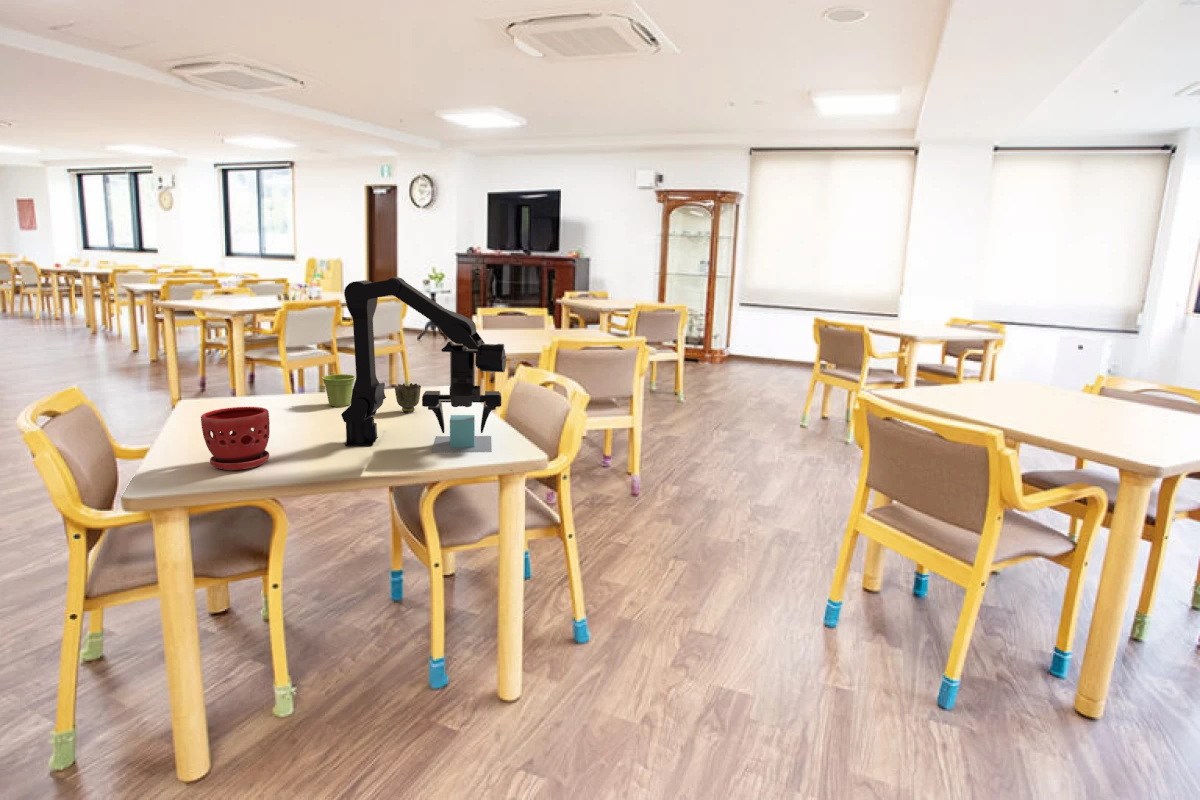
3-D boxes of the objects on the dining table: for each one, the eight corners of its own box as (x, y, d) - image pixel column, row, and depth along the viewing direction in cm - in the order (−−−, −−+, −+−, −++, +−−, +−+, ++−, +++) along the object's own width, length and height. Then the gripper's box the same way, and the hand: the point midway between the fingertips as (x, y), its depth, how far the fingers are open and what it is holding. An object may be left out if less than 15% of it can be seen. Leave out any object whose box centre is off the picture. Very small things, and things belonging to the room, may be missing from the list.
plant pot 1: (282, 456, 158) (278, 405, 156) (256, 474, 145) (251, 419, 143) (224, 454, 158) (219, 403, 155) (192, 473, 145) (187, 418, 142)
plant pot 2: (322, 402, 210) (320, 374, 208) (354, 400, 214) (353, 373, 212) (324, 409, 202) (322, 380, 200) (358, 407, 206) (356, 379, 204)
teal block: (450, 447, 166) (449, 420, 165) (450, 440, 172) (450, 415, 171) (474, 447, 167) (474, 420, 166) (474, 440, 173) (474, 415, 172)
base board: (431, 456, 162) (431, 452, 162) (435, 439, 176) (435, 436, 175) (491, 455, 164) (491, 451, 164) (491, 439, 178) (491, 435, 178)
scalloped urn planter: (394, 415, 198) (394, 388, 197) (395, 409, 205) (394, 383, 203) (421, 414, 200) (421, 387, 199) (421, 408, 207) (420, 382, 205)
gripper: (419, 376, 156) (420, 442, 160) (502, 377, 159) (501, 441, 163) (423, 367, 167) (424, 429, 171) (501, 368, 170) (500, 429, 174)
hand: (462, 432), depth 169 cm, fingers open, 9 cm apart
